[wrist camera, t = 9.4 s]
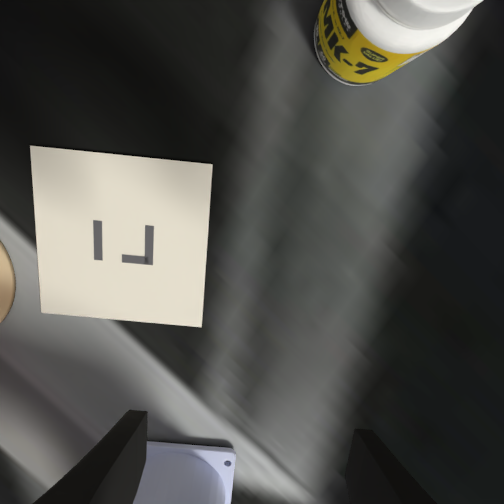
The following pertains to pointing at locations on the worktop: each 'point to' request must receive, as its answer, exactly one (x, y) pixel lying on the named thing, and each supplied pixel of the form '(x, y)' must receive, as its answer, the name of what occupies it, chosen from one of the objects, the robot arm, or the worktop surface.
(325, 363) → the worktop surface
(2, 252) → the cork coaster
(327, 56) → the supplement bottle
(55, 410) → the worktop surface
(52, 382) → the worktop surface
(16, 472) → the worktop surface
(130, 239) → the tile
